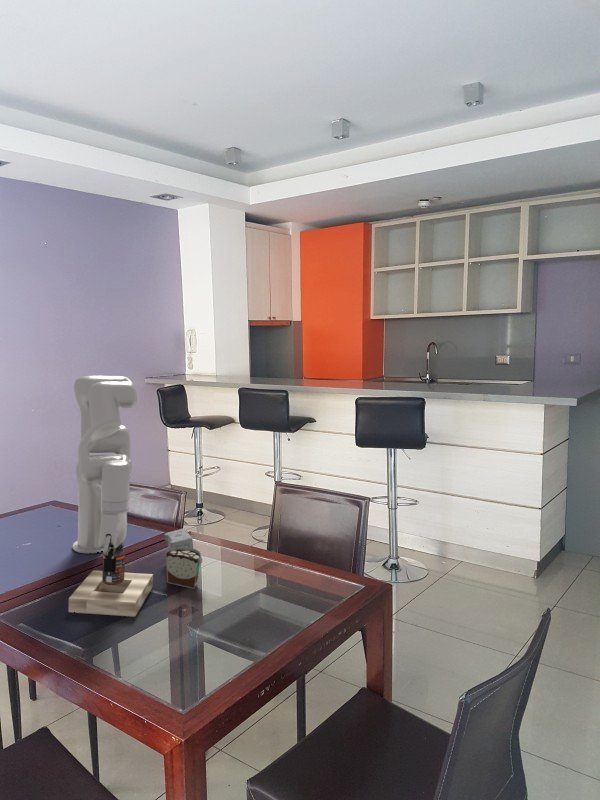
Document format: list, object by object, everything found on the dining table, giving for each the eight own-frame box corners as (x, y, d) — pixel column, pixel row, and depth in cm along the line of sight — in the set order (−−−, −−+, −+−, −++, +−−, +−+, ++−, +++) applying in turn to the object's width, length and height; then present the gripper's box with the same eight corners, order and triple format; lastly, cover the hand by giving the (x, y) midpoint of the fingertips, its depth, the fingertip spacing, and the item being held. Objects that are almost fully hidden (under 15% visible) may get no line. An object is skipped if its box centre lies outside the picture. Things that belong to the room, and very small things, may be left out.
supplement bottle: (112, 588, 162) (112, 548, 161) (97, 582, 165) (98, 543, 164) (128, 581, 167) (129, 542, 166) (114, 575, 170) (115, 537, 169)
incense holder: (162, 559, 196) (163, 529, 195) (187, 556, 200) (188, 527, 198) (170, 571, 187) (171, 540, 186) (195, 568, 191) (196, 537, 190)
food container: (208, 582, 182) (210, 551, 180) (198, 590, 176) (200, 558, 175) (173, 574, 186) (174, 543, 184) (163, 581, 180) (164, 550, 178)
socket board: (92, 583, 176) (93, 570, 175) (152, 587, 176) (153, 574, 175) (68, 612, 158) (68, 598, 157) (135, 616, 158) (135, 602, 157)
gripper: (111, 495, 172) (110, 554, 174) (90, 513, 155) (89, 578, 157) (137, 496, 172) (135, 555, 174) (118, 515, 155) (117, 580, 157)
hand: (113, 566), depth 166 cm, fingers closed on supplement bottle, 6 cm apart
